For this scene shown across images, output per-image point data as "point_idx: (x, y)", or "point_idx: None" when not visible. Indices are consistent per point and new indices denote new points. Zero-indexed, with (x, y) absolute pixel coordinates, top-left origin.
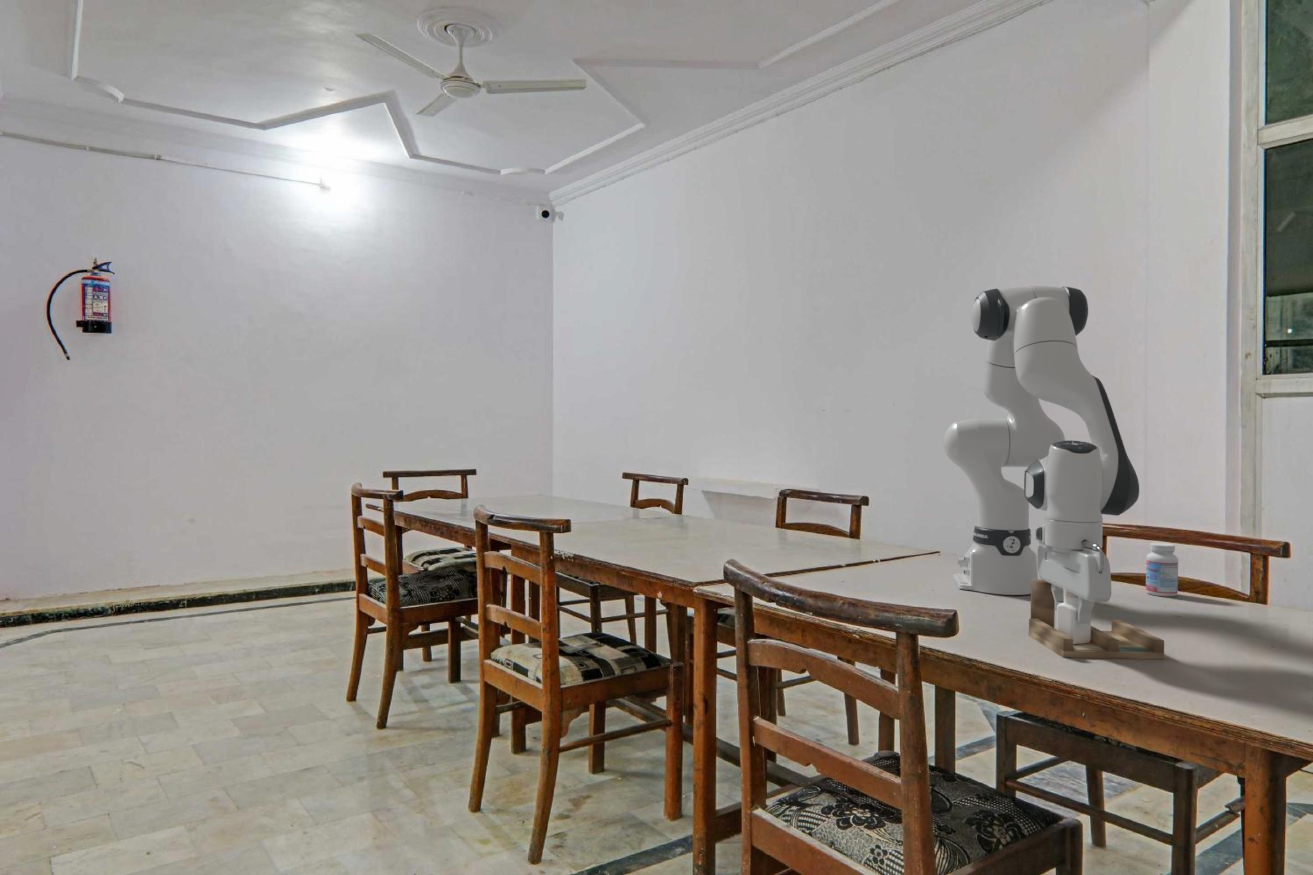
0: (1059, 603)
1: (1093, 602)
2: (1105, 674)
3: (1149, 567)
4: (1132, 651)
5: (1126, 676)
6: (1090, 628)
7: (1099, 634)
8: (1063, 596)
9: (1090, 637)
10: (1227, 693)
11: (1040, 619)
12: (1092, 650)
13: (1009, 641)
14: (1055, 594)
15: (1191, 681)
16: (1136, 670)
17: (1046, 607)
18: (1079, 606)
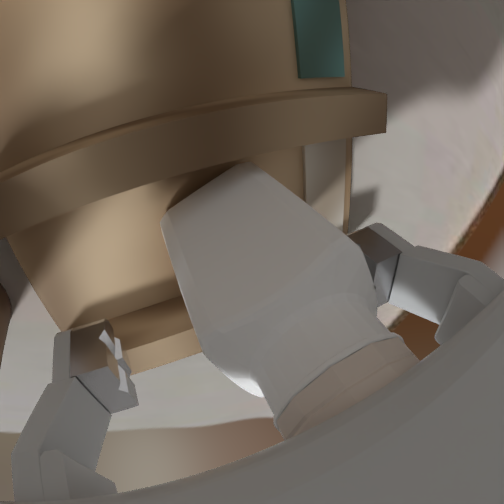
0: (135, 394)
1: (486, 273)
2: (438, 180)
3: None
4: (339, 28)
5: (450, 141)
6: (276, 181)
7: (311, 142)
8: (68, 416)
9: (255, 165)
10: (495, 18)
11: (3, 347)
12: (343, 175)
13: (186, 370)
14: (94, 452)
15: (467, 24)
16: (425, 93)
17: None
18: (428, 315)
